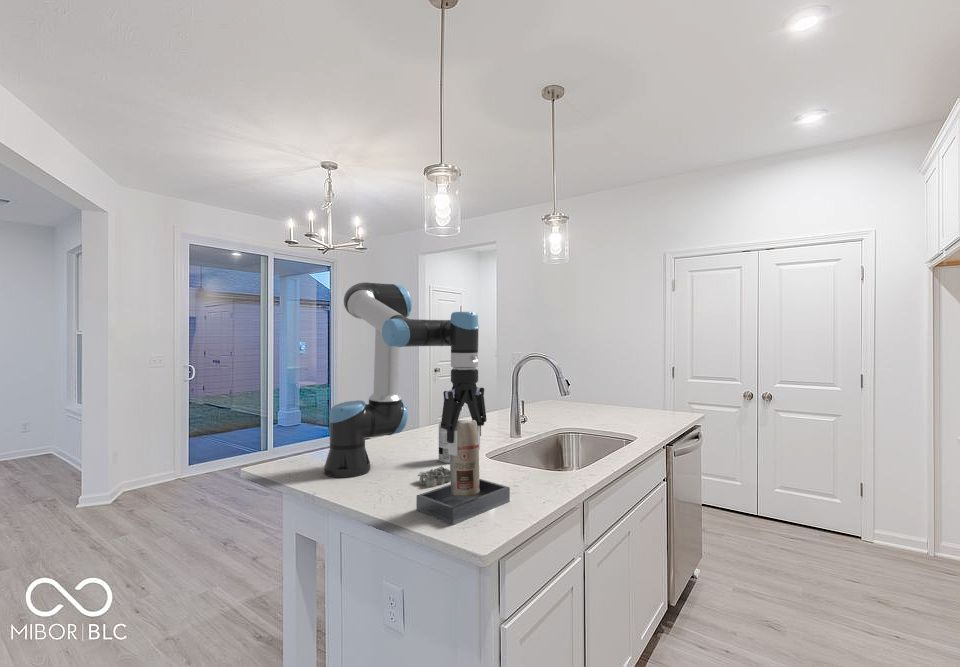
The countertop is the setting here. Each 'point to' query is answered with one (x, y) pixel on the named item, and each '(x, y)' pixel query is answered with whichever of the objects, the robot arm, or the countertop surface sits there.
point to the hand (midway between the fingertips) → (464, 451)
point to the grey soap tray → (462, 502)
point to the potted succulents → (435, 477)
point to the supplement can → (443, 445)
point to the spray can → (465, 460)
